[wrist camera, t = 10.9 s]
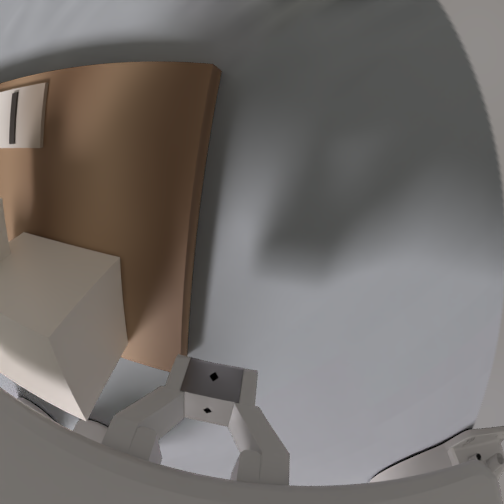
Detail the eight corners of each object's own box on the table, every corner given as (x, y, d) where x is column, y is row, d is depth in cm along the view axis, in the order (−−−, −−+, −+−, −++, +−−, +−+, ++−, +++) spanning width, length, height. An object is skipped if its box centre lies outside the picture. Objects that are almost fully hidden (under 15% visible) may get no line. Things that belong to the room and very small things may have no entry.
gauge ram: (119, 197, 10) (26, 261, 5) (128, 343, 13) (86, 421, 9) (-3, 180, 10) (-75, 218, 5) (20, 301, 13) (-27, 352, 8)
